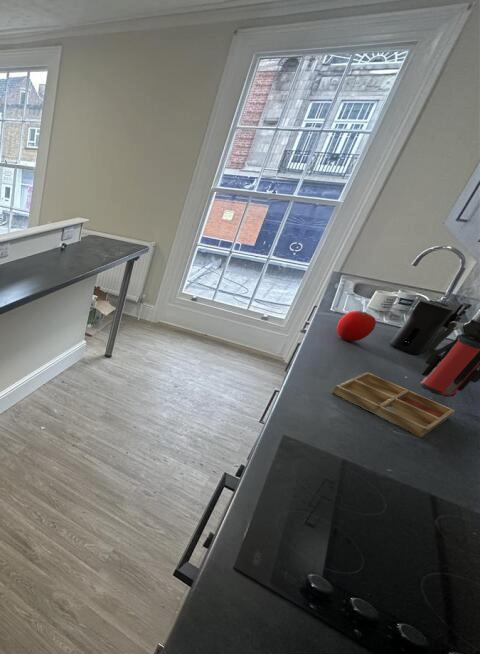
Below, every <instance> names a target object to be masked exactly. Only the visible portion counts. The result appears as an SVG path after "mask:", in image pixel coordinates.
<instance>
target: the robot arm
mask: <svg viewBox="0 0 480 654" xmlns="http://www.w3.org/2000/svg"><path fill="white" fill-rule="evenodd" d="M461 328H462V331H463V334H465V335H466V336H467V337H473V338H475V339H474V340H477V341H480V309H478V311H476V313H475V314H474V316H473V317H471V319H470V320H469V321H468V322H464V323H463V322H459V321H453V322H451V323H449V325H448V327H447V329H446V330H445V331H444V332H443V333H442V334H441V335H440V336H439V337H438V338H437V339H436V340H435V341H433V342H432V343H431V344H430V345H429V346H428V347H427V348H426V350H427V351H426V352H429V353H430V356H429V357H428V358H427V359H426V361H425V364H426V365H428V366H427V367H426V369H425V370H424V371H423V372H422V373H421V376H423V377H425V376H426V375H427V374H428V372H429V371H430V370H431V369H432V368H433V366H434V365H435V364H436V363H437V362H438V360H439V359H440V358H441V357H442V355H441V354H444V353H445V352H446V351H447V350H449V349H450V348H451V347H452V346H453V344H454V343H455V342H456V341H457V340H458V339H457V340H455V339H454V340H455V341H454V340H453V341H451V342H450V343H447V344H446V345H444V346H442V347H441V348H437V347H438V346H439V345H440V344H442V343H443V342H444V341H445V340H446V339H447V338H448V337H449V336H450V335H452V333H454V331H457V330H460V329H461ZM463 337H464V336H463ZM465 338H466V337H465ZM473 338H472V339H473ZM467 339H468V338H467ZM469 340H470V339H469ZM479 381H480V367H478V368H477V369H476V370H475V371H473V372H472V374H471V375H470V376H469V377H468V378H467V379H466V380H465V381H464V383H463V384H462V385H461V386H460V387H459V388H458V389H457V391H460V392H462V391H463V390H464V389H466V387H467V386H469V384H470V383H471V382H472V383H474V384H475V383H478V382H479Z"/></svg>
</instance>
